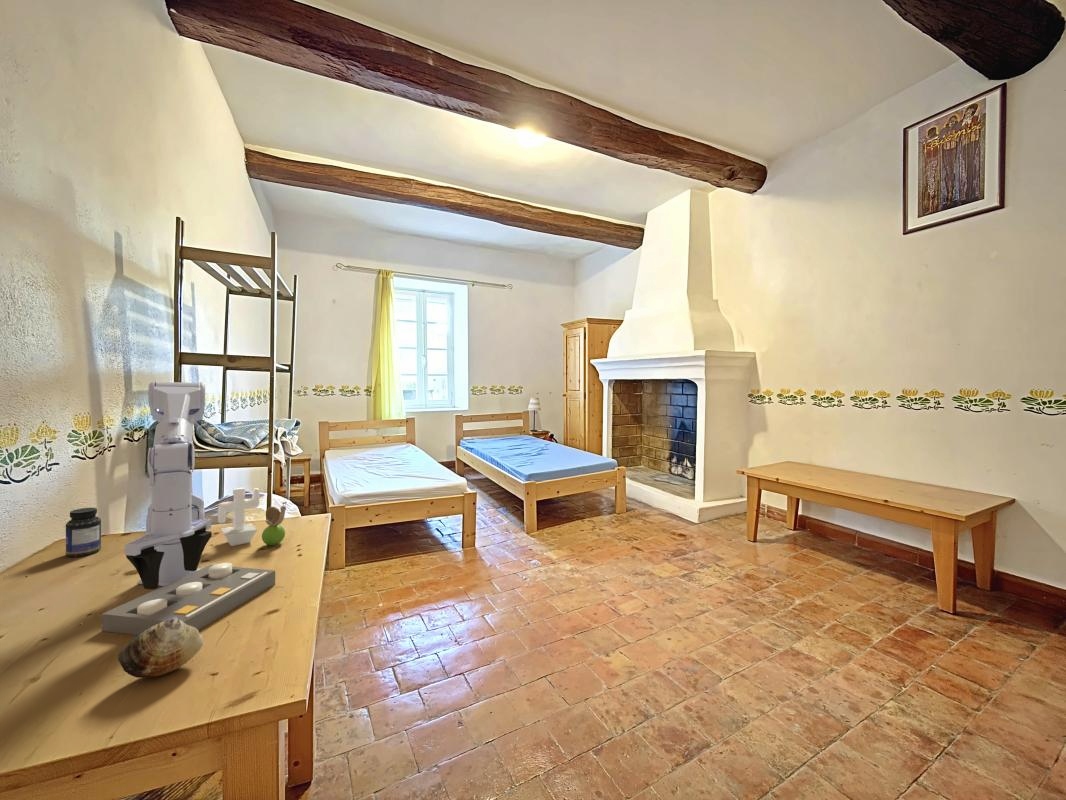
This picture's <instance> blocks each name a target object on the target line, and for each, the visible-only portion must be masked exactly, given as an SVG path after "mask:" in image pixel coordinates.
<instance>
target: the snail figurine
mask: <svg viewBox="0 0 1066 800" xmlns="http://www.w3.org/2000/svg"><path fill="white" fill-rule="evenodd" d="M281 504H282V506H281V507H280V509H279V508H278V507H276V506H269V507H267V509H266V511H265V518H266V519H267V520H265V523H266V525H268V526H266V527H265V529H264V530H263V531H262V533H261V539H262V541H263V543H264V544H265V545H268V546H276V545H278V544H280V543H281V542H282V541H284V539H285V536H286V530H285V528H284V526H281V525H280V524H282V523H283V521H284V519H285V514H286V509H287V507H286V504H287V501H283V502H282V503H281Z"/></svg>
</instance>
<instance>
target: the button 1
mask: <svg viewBox="0 0 1066 800" xmlns="http://www.w3.org/2000/svg"><path fill="white" fill-rule="evenodd" d="M166 607H167V600H166V599H155V600H151V601H147V602H145V603H142V604H141V605H139V606H138V607H137V614H141V615H152V614H154V613H156V612H158V611H160V610H162V609H164V608H166Z"/></svg>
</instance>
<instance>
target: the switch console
mask: <svg viewBox="0 0 1066 800" xmlns="http://www.w3.org/2000/svg"><path fill="white" fill-rule="evenodd" d="M213 565H214V564H209V565H207V566H205V567H202V568H199V569H200V570H198V571H196V572H194V573H191V574H189V575H187V576H185V577H182V578H180V579H178V580H176V581H174V582H171V583H169V584H167V585H165V586H159V587H157V588H156V589H153V590H151V591H150V592H147V593H145V594H143V595H140V596H138V597H136V598H134V599H132V600H129V601H128V602H125V603H122V604H121V605H118V606H115V607H114V608H111V609H109V610H107V611H105V612H104V613H101V632H108V633H117V634H123V635H124V634H126V635H133V636H138V635H140V634H141V633H142V632H144V631H145V630H147V629H148V628H150V627H152V626H154V625H156V624H159V623H161V622H163V621H165V620H167V619H170V618H173V617H177V618H178V619H180V620H181V621H182V622H184V623H185V624H187V625H189V626H192V627H195V628H196V629H197V630H198V631H201V630H202V629H204V628H205V627H207V626H208V625H210V624H211V623H214V622H215V621H216V620H219V619H220V618H221V617H223V616H225V615H226V614H228V613H230V612H231V611H234V609H236V608H238V607H240V606H241V605H243V604H245V603H246V602H248V601H249V600H251V599H253V598H255V597H256V596H259V594H261V593H262V592H263V593H264V592H265V591H266V590H268V589H269V588H271V587H273V586H274V585H276V570H275V569H264V568H251V567H239V566H238V567H237V566H232V574H231V575H229V576H227V577H225V578H223V579H221V580H218V579H209V568H210V567H211V566H213ZM191 582H201V583H202V589H201V590H199V591H197V592H196V593H194V594H192V595H190V596H183V595H176V588H177V587H179V586H181V585H183V584H186V583H191ZM155 599H166V600H167V607H166V608H164V609H162V610H160V611H158V612H156V613H154V614H152V615H141V614H137V607H138V606H139V605H141V604H142V603H145V602H147V601H151V600H155Z"/></svg>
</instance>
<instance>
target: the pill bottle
mask: <svg viewBox="0 0 1066 800" xmlns="http://www.w3.org/2000/svg"><path fill="white" fill-rule="evenodd" d="M97 513H98V508H97V507H84V508H77V509H73V510H71V511H69V518H71V519H70V520H68V521H67V522H66V523H65V556H66V557H68V558H78V557H85V556H90V555H94V554H95V553H98V552H99V551H100V550H101V549H102V519H101V518H100V517H99V516H97Z"/></svg>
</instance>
